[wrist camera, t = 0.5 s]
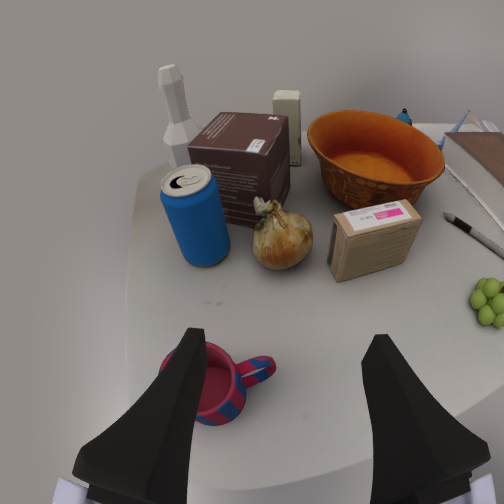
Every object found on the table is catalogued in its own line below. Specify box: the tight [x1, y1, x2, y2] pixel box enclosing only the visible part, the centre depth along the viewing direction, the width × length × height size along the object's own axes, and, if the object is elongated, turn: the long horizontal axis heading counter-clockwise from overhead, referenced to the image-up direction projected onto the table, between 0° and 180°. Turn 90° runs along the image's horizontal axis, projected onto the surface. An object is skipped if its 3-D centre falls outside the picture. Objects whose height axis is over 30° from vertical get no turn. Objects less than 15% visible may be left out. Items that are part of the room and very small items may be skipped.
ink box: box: [327, 199, 422, 282], centre depth 33 cm, size 10×4×8 cm, turn 102°
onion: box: [253, 197, 313, 270], centre depth 35 cm, size 8×8×8 cm
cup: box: [158, 342, 276, 426], centre depth 25 cm, size 7×10×7 cm
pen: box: [443, 212, 504, 258], centre depth 35 cm, size 1×16×1 cm, turn 44°
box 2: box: [272, 90, 301, 165], centre depth 47 cm, size 5×4×13 cm
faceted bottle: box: [158, 64, 204, 171], centre depth 40 cm, size 6×6×22 cm
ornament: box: [396, 109, 412, 126], centre depth 48 cm, size 8×5×10 cm, turn 147°
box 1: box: [187, 112, 290, 227], centre depth 40 cm, size 11×11×13 cm
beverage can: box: [160, 164, 230, 266], centre depth 35 cm, size 6×6×12 cm
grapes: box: [470, 278, 504, 328], centre depth 26 cm, size 7×7×6 cm
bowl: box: [307, 110, 445, 210], centre depth 41 cm, size 21×21×10 cm
